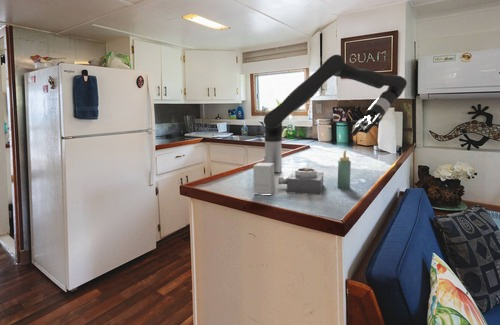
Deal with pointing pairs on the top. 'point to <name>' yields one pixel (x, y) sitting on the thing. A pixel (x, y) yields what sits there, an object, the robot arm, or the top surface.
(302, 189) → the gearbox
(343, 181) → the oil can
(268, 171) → the supplement box
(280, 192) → the top surface
